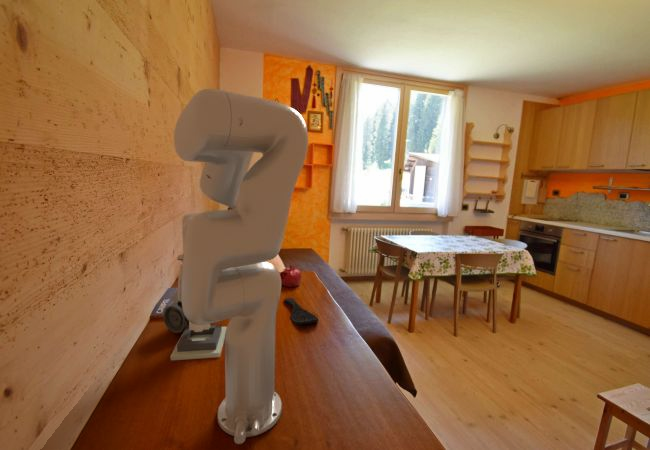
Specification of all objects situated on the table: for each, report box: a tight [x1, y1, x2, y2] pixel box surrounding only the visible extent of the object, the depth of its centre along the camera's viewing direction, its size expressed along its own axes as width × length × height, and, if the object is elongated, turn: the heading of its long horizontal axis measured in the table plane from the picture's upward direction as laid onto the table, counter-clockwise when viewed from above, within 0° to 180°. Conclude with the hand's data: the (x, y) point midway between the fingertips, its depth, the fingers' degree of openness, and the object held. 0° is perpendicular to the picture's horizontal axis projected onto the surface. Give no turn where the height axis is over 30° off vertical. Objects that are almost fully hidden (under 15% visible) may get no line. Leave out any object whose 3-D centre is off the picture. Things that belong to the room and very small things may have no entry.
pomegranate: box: [279, 263, 303, 288], centre depth 133 cm, size 10×10×9 cm
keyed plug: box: [189, 322, 212, 332], centre depth 83 cm, size 5×5×7 cm
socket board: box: [169, 324, 227, 361], centre depth 84 cm, size 14×12×3 cm
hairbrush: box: [283, 297, 319, 326], centre depth 106 cm, size 8×4×25 cm
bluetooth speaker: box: [163, 302, 189, 333], centre depth 97 cm, size 23×9×10 cm, turn 159°
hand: (200, 321), depth 84 cm, fingers closed on keyed plug, 4 cm apart
